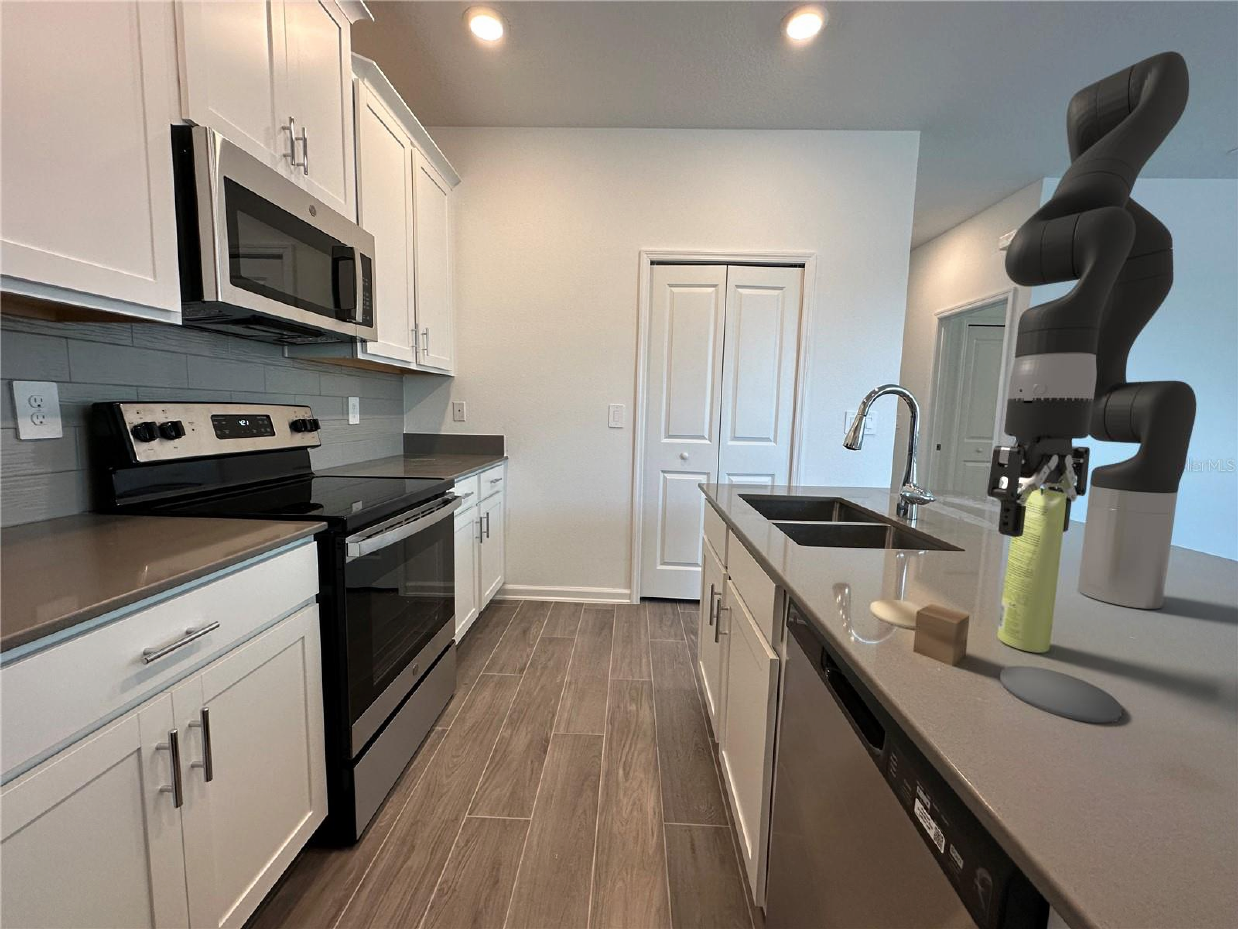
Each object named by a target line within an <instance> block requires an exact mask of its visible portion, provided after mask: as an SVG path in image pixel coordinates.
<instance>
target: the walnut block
mask: <svg viewBox="0 0 1238 929" xmlns="http://www.w3.org/2000/svg"><path fill="white" fill-rule="evenodd" d="M925 606H926V607H924V608H922V609H920V610H918V611H917V614H916V626H915V630H914V641H913V653H916V654H919V655H921V656H923V657H924V656H925V657H927V658H930V659H933V660H934V661H937V662H940V663H943V664H946V665H948V666H951V667H952V666H954V665H955V664H957V663H958V662H960V661H961V660H962V659H963V657H964V658H965V657H966V656H967V646H968V636H969V627H970V626H969V625H970V614H967V613H964V612H961V611H957V610H954V609H950V608H948V607H943V606H940V605H938V604H933V603H930V604H928V605H925Z"/></svg>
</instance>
